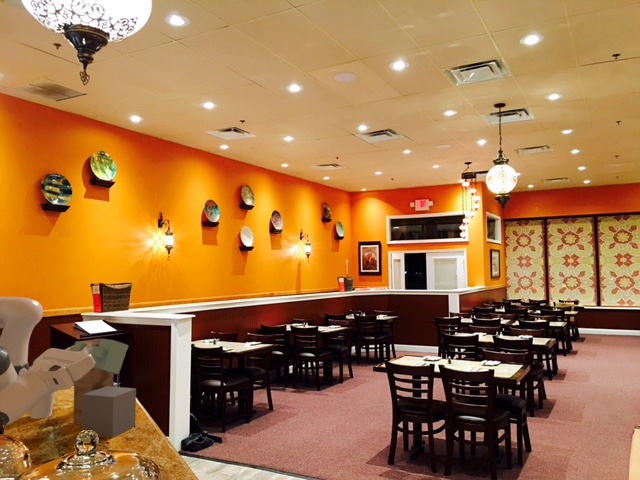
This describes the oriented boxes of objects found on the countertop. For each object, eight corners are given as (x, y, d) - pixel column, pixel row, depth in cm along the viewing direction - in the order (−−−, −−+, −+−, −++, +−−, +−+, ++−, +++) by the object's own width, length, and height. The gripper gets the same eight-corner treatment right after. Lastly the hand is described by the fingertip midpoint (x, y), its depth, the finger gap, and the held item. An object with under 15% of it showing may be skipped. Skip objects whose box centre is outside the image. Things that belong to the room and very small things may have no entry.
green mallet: (78, 362, 152) (89, 332, 155) (65, 360, 155) (77, 330, 158) (122, 374, 165) (132, 346, 168) (110, 372, 168) (119, 344, 171)
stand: (91, 427, 167) (93, 344, 168) (72, 422, 172) (74, 342, 173) (114, 420, 175) (116, 341, 176) (95, 415, 180) (97, 338, 181)
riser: (81, 434, 161) (82, 394, 161) (106, 423, 171) (106, 386, 172) (112, 437, 158) (113, 397, 158) (135, 426, 168) (136, 388, 169)
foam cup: (49, 410, 186) (50, 373, 186) (61, 415, 180) (62, 377, 180) (20, 416, 179) (21, 377, 179) (31, 422, 172) (32, 381, 173)
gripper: (30, 380, 153) (69, 350, 164) (73, 389, 143) (112, 356, 153) (20, 363, 151) (60, 333, 161) (63, 371, 140) (103, 339, 151)
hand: (85, 345), depth 157 cm, fingers closed on green mallet, 3 cm apart
